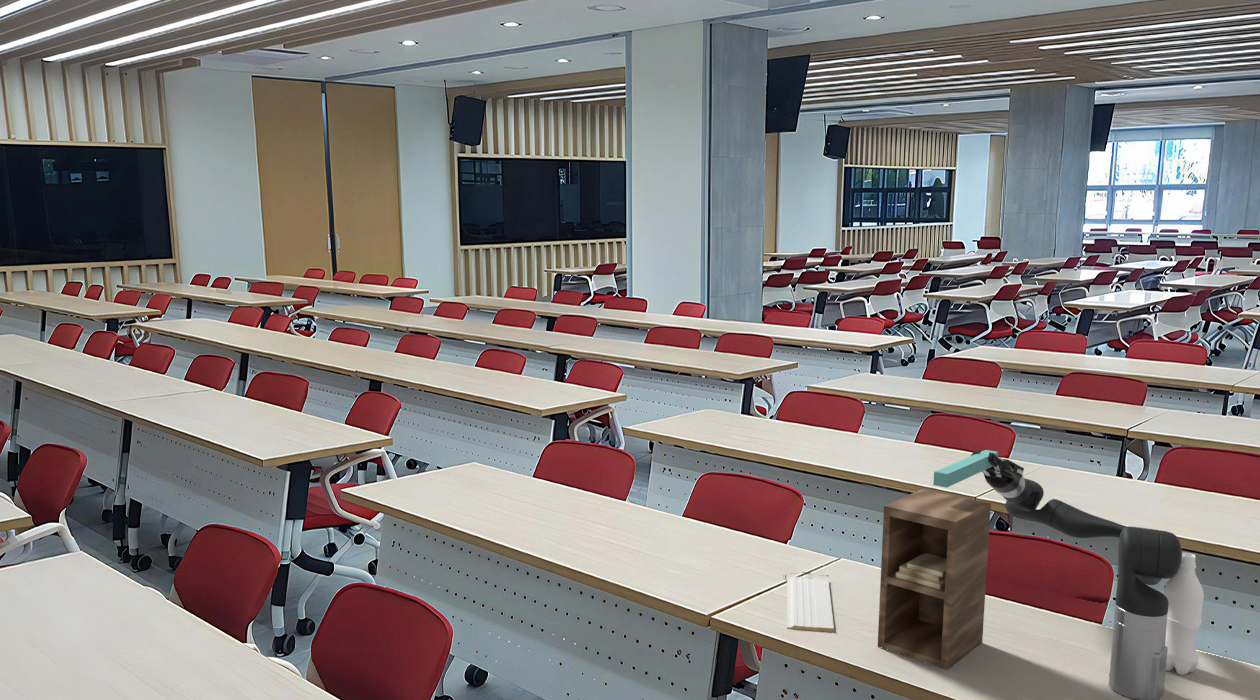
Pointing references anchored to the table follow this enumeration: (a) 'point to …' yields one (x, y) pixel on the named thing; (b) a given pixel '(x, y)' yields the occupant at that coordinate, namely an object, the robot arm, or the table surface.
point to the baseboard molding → (809, 604)
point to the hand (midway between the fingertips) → (982, 455)
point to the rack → (933, 576)
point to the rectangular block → (963, 469)
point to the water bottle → (1183, 616)
